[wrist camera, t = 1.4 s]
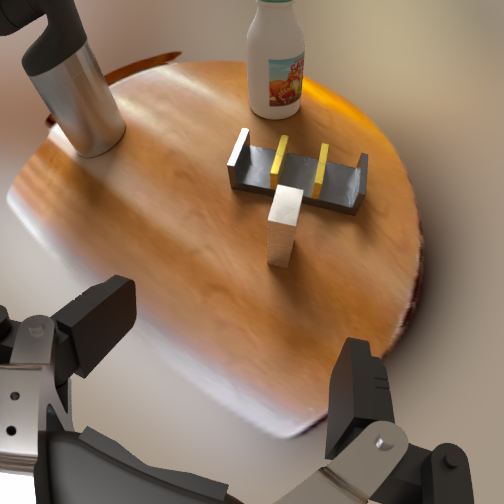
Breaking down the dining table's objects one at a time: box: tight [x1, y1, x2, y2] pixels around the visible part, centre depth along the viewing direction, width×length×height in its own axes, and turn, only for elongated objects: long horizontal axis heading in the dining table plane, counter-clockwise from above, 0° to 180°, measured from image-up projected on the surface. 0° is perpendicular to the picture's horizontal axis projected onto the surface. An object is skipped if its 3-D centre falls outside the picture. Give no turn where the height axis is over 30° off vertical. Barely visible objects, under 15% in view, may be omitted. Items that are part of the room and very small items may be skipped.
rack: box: [227, 129, 368, 216], centre depth 34 cm, size 6×15×4 cm, turn 75°
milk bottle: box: [246, 0, 305, 120], centre depth 33 cm, size 8×8×20 cm
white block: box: [267, 185, 304, 268], centre depth 28 cm, size 4×2×10 cm, turn 165°
